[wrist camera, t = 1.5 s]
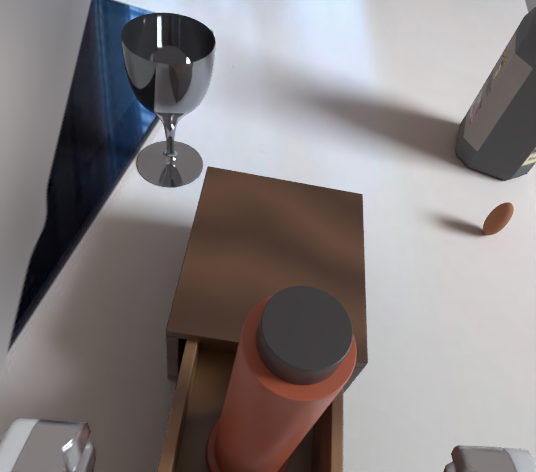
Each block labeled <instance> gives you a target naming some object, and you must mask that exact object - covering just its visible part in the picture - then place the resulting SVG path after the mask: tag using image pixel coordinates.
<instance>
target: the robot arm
mask: <svg viewBox="0 0 536 472" xmlns="http://www.w3.org/2000/svg"><path fill="white" fill-rule="evenodd" d="M90 432H91V431H90V428H89V425H88V423H84V422H68V421H52V420H42V419H26V418H17V419H16V420H15V421H14V422H13V423H12V424H11V425H10V426H9V428H8V430H7V432H6V434H5V435H4V437H3V439H2V441H1V443H0V472H93V471H94V465H95V460H96V457H95V446H94V443H92V442H91V441H90V440H89V439H88V437H89V434H90ZM451 455H452V459H453V462H451V463H449V464H448V465H446V466H445V469H444V471H443V472H536V462H535V459H534V457H533V455H532V454H531V453H530V452H529V451H528V450H525V449H514V448H502V447H482V446H456V447H454V449H453V451H452V453H451Z"/></svg>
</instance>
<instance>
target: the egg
mask: <svg viewBox="0 0 536 472" xmlns="http://www.w3.org/2000/svg"><path fill="white" fill-rule="evenodd" d="M512 214H513V205H512V204H511V203H503V204H501V205H499V206H497V207H496V208H495V209H494V210H493V211H492V212H491V213H490V214H489V215H488V217H487V218H486V220H485V222H484V225H483V232H484V233H485V234H486V235H493V234H495V233H497V232H499V231H500V230H501V229H502V228H504V227H505V225H506V224H507V223H508V222H509V220H510V219H511V217H512Z"/></svg>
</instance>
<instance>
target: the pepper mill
mask: <svg viewBox="0 0 536 472" xmlns="http://www.w3.org/2000/svg"><path fill="white" fill-rule="evenodd" d="M356 355H357V350H356V342H355V338H354V335H353V327H352V323H351V320H350V317H349V315H348V313H347V311H346V310H345V308H344V307H343V305H342V304H341V303H340V302H339V301H338V300H337V299H336V298H335V297H333V296H332V295H330V294H329V293H327V292H325V291H323V290H321V289H318V288H315V287H311V286H292V287H288V288H285V289H283V290H281V291H279V292H277V293H276V294H275V295H272V296H269V297H267V298H266V299H264V300H262V301H261V302H260V303H258V304H257V305H256V306H255V307H254V308H253V309H252V310H251V312H250V313H249V314H248V316H247V318H246V320H245V322H244V325H243V328H242V333H241V337H240V341H239V345H238V349H237V353H236V357H235V361H234V365H233V369H232V374H231V378H230V382H229V386H228V390H227V394H226V398H225V402H224V406H223V411H222V415H221V417H220V418H219V419H218V420H217V421H216V423H215V424H214V426H213V428H212V429H211V432H210V434H209V437H208V442H207V447H206V463H207V467H208V471H209V472H286V471H287V468H288V466H289V462H290V455H291V453H292V452H293V451H294V450H295V448H296V447H297V446H298V444H299V443H300V442H301V441H302V439H303V438H304V437H305V435H306V434H307V433H308V432H309V430H310V429H311V428H312V426H313V425H314V424H315V423H316V421H317V420H318V419H319V417H320V416H321V415H322V414H323V412H324V411H325V410H326V408H327V407H328V406H329V404H330V403H331V402H332V401H333V399H334V398H335V397H336V395H337V394H338V393H339V392H340V390H341V389H342V388H343V386H344V385H345V384H346V383H347V381H348V380H349V378H350V376H351V375H352V373H353V370H354V367H355V363H356Z"/></svg>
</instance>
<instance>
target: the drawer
mask: <svg viewBox="0 0 536 472" xmlns="http://www.w3.org/2000/svg"><path fill="white" fill-rule="evenodd" d="M237 349H238V348H237V347H231V346H225V345H218V344H212V343H206V342H199V341H193V340H186V344H185V349H184V353H183V358H182V362H181V367H180V371H179V376H178V380H177V385H176V389H175V394H174V398H173V403H172V407H171V412H170V416H169V421H168V425H167V429H166V434H165V438H164V443H163V447H162V452H161V456H160V461H159V465H158V470H157V472H209V471H208V467H207V463H206V447H207V442H208V437H209V434H210V432H211V429H212V428H213V426H214V424H215V423H216V421H217V420H218V419H219V418H220V417H221V415H222V411H223V406H224V402H225V398H226V394H227V390H228V386H229V382H230V378H231V374H232V369H233V365H234V361H235V357H236V353H237ZM286 472H343V388H342V389H341V390H340V392H339V393H338V394H337V395H336V397H335V398H334V399H333V401H332V402H331V403H330V404H329V406H328V407H327V408H326V410H325V411H324V412H323V414H322V415H321V416H320V417H319V419H318V420H317V421H316V423H315V424H314V425H313V426H312V428H311V429H310V430H309V432H308V433H307V434H306V435H305V437H304V438H303V439H302V441H301V442H300V443H299V444H298V446H297V447H296V448H295V450H294V451H293V452H292V453H291V455H290V462H289V466H288V468H287V471H286Z"/></svg>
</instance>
